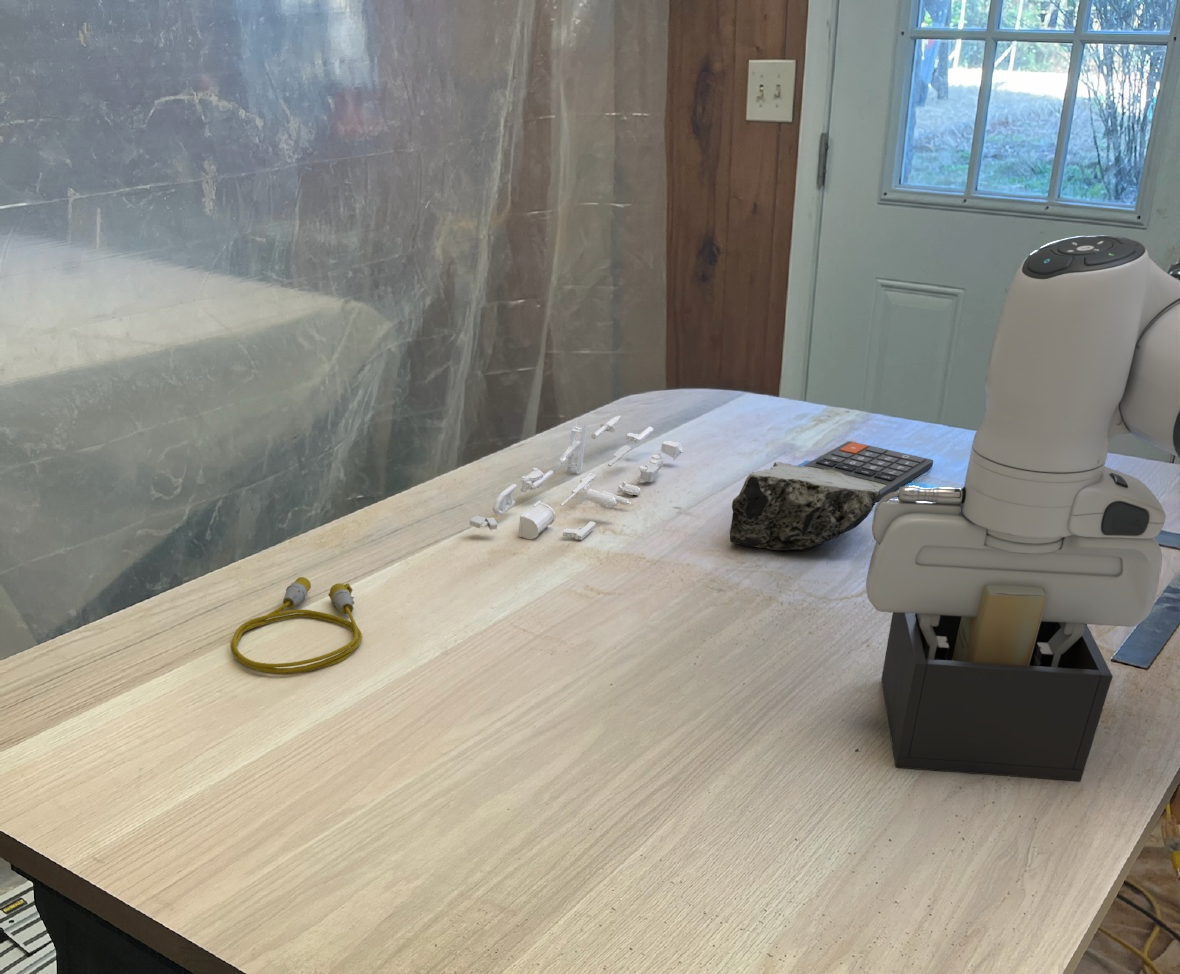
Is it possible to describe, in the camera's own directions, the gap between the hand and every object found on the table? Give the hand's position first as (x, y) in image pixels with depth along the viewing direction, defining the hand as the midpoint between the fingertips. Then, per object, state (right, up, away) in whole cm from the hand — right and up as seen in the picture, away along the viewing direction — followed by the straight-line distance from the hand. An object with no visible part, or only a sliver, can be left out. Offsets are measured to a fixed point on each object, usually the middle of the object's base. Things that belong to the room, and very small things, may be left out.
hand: (988, 665), depth 89 cm
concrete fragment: (-8, +17, +35) cm, 40 cm away
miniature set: (-30, +24, +45) cm, 59 cm away
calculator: (+2, +29, +51) cm, 58 cm away
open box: (0, -5, +3) cm, 6 cm away
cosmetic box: (0, -4, +3) cm, 5 cm away
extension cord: (-57, +4, +16) cm, 59 cm away
